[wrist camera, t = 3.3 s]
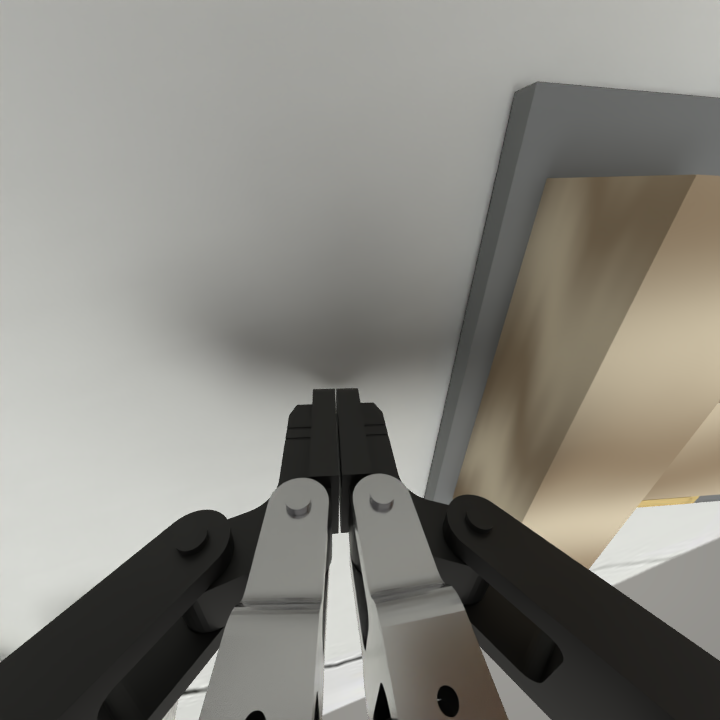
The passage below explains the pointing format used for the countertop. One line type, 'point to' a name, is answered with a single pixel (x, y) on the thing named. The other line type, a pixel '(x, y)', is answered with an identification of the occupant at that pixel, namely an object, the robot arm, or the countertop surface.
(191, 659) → the robot arm
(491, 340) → the board
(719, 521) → the countertop surface
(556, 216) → the t block
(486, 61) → the countertop surface
